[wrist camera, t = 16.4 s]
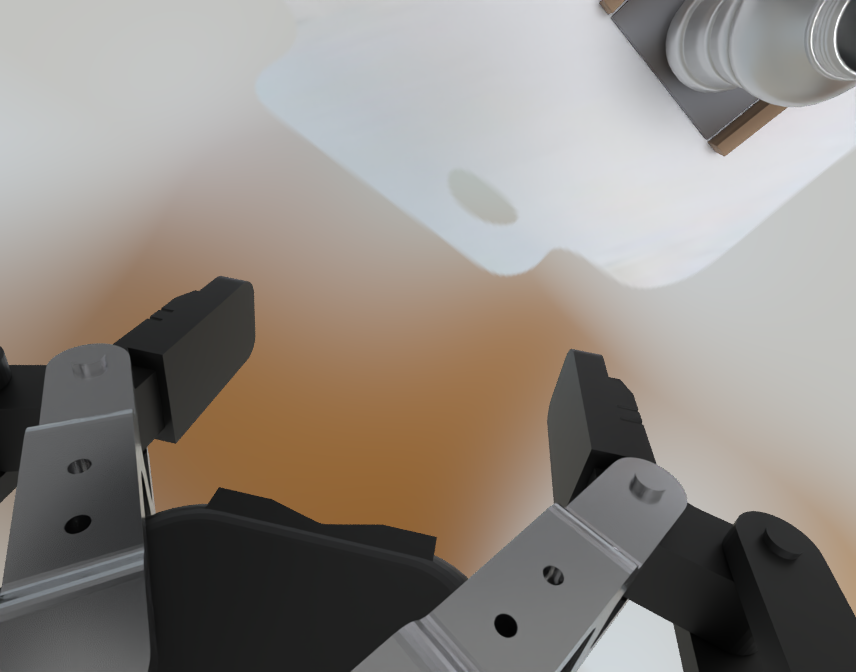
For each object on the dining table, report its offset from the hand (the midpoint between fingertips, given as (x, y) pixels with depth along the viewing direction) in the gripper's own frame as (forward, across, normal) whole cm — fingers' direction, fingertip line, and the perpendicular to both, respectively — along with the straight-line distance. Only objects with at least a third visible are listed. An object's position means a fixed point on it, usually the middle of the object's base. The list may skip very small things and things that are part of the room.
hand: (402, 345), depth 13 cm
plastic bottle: (+32, -14, -9) cm, 37 cm away
